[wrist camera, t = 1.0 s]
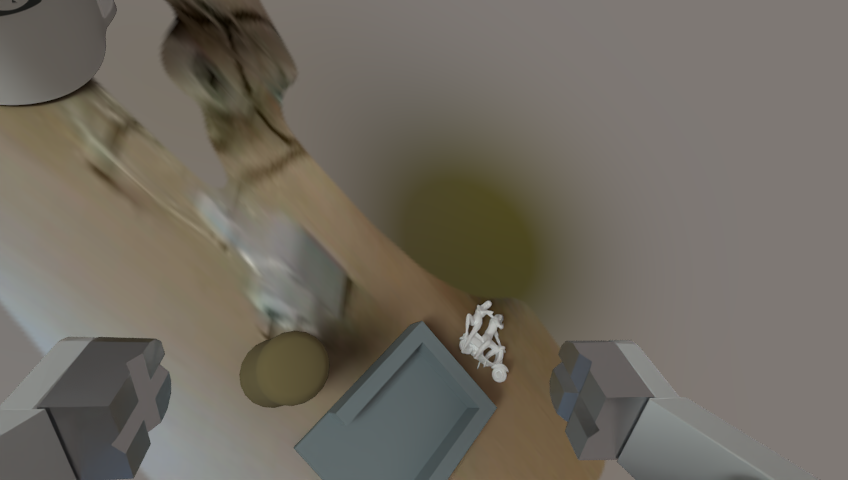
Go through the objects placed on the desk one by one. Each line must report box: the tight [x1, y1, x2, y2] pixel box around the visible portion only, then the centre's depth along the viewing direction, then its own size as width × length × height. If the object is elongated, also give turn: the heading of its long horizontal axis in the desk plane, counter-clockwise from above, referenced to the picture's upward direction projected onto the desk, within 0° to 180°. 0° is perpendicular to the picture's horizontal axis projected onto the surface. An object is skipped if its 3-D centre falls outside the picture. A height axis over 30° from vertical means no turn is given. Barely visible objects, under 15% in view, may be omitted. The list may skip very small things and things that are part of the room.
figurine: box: [459, 301, 509, 382], centre depth 49 cm, size 3×8×8 cm
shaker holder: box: [294, 321, 497, 480], centre depth 41 cm, size 12×16×3 cm
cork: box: [240, 331, 330, 408], centre depth 34 cm, size 6×6×11 cm
